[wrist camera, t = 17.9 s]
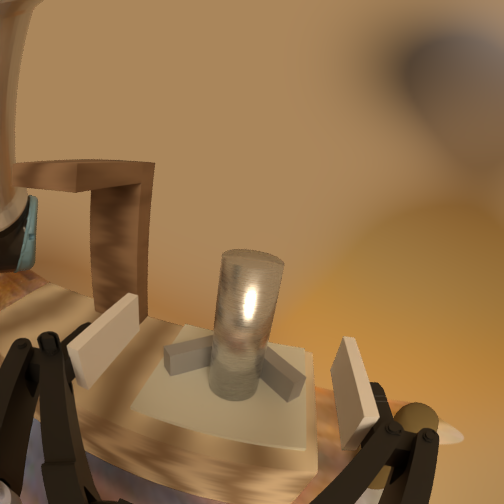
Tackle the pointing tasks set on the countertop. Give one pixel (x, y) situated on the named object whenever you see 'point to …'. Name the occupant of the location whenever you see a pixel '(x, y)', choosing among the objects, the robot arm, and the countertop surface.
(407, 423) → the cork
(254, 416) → the v cradle
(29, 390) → the robot arm
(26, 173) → the brown wooden l bracket
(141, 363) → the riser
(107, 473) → the countertop surface
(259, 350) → the axle
